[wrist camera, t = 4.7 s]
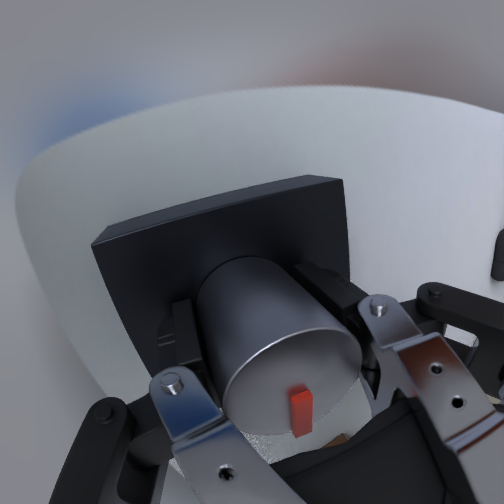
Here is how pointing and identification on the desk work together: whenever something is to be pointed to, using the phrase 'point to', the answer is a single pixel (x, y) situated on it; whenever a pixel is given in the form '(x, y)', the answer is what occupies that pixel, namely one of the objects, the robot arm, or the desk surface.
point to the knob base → (217, 247)
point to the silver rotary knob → (273, 348)
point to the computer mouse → (498, 258)
